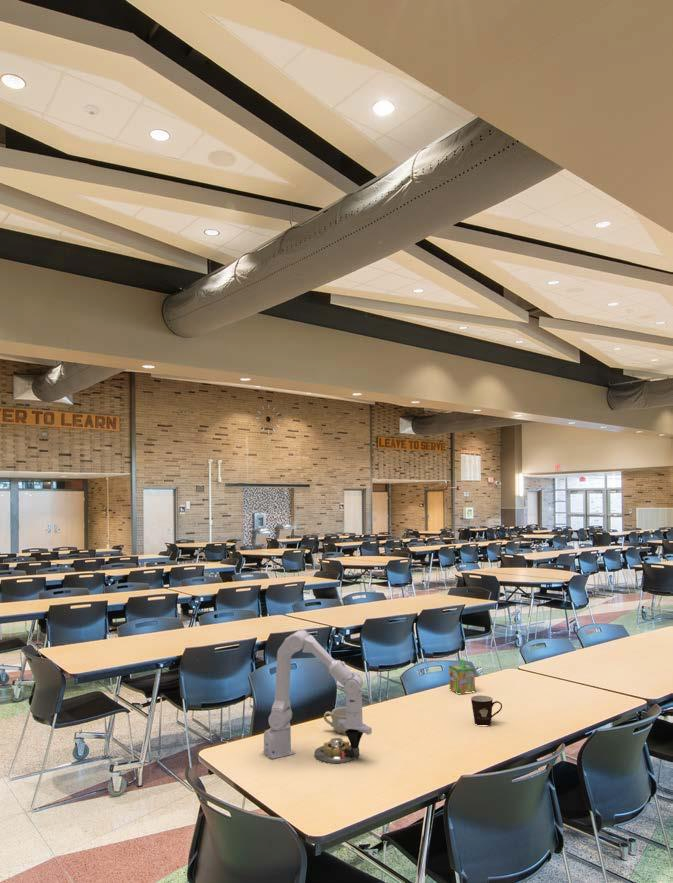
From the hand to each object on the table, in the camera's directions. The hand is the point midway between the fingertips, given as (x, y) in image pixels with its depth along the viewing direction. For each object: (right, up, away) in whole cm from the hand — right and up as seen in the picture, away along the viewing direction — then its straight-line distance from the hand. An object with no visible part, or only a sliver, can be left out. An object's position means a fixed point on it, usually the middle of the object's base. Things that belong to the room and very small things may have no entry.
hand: (355, 751), depth 229 cm
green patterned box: (+54, -10, +80) cm, 96 cm away
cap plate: (-6, -3, +3) cm, 8 cm away
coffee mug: (+54, -5, +32) cm, 63 cm away
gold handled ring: (-4, -1, +1) cm, 5 cm away
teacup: (-5, -6, +28) cm, 29 cm away
